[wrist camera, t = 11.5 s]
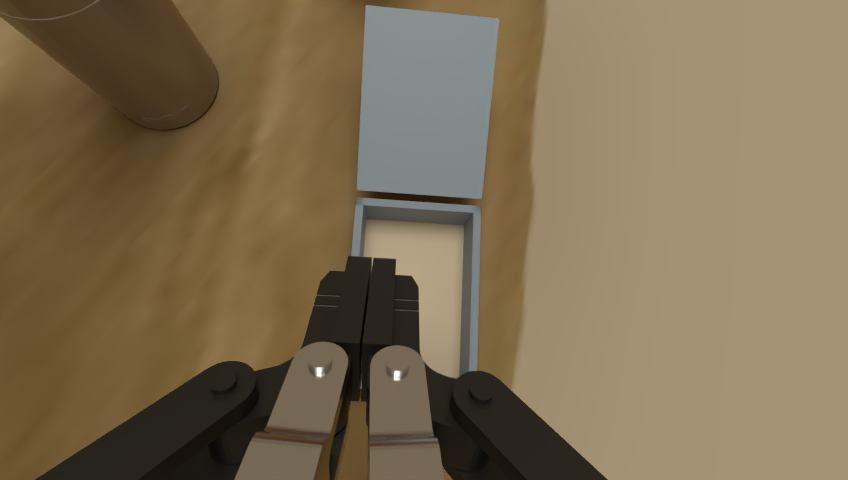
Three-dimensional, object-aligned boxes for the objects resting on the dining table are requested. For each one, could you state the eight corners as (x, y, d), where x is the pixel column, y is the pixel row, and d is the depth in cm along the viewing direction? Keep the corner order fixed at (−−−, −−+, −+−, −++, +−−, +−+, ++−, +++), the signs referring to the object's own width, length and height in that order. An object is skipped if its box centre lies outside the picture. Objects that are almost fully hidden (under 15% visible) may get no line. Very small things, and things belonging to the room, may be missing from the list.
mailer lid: (356, 190, 33) (357, 189, 34) (481, 199, 34) (479, 198, 35) (365, 5, 31) (366, 9, 32) (499, 18, 32) (496, 22, 33)
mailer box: (360, 213, 38) (356, 197, 33) (469, 221, 39) (480, 206, 34) (346, 379, 35) (340, 388, 31) (464, 384, 36) (476, 393, 31)
